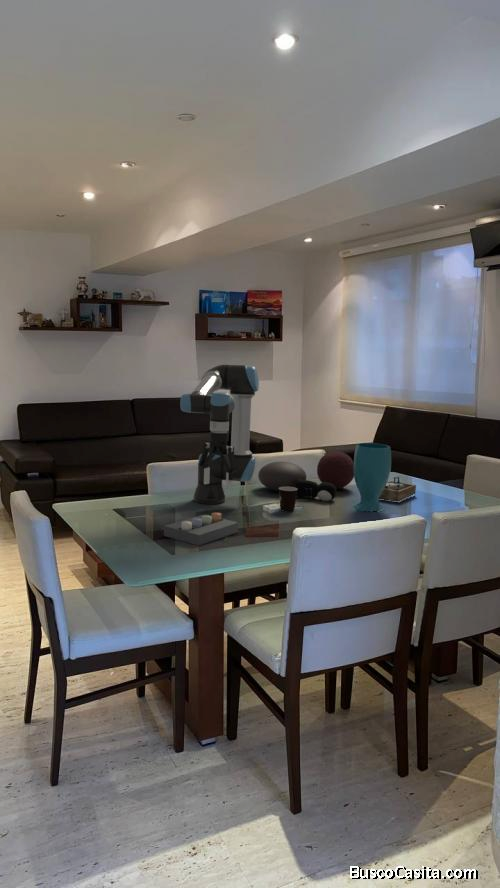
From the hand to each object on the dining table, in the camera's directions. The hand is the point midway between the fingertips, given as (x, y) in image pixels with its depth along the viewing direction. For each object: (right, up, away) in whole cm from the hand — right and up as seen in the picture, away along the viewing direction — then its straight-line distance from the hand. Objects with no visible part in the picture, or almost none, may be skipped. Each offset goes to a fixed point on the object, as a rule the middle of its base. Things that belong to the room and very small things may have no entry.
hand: (217, 486), depth 270 cm
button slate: (-8, -16, -7) cm, 19 cm away
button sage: (-4, -16, -2) cm, 16 cm away
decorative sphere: (+58, -7, +87) cm, 105 cm away
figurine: (+45, -11, +62) cm, 78 cm away
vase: (+69, -14, +47) cm, 85 cm away
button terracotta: (-1, -15, +2) cm, 15 cm away
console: (-6, -19, -4) cm, 20 cm away
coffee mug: (+30, -13, +40) cm, 52 cm away
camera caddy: (+86, -10, +72) cm, 113 cm away
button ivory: (-11, -17, -12) cm, 24 cm away
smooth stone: (+29, -7, +78) cm, 84 cm away
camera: (+86, -10, +73) cm, 113 cm away
